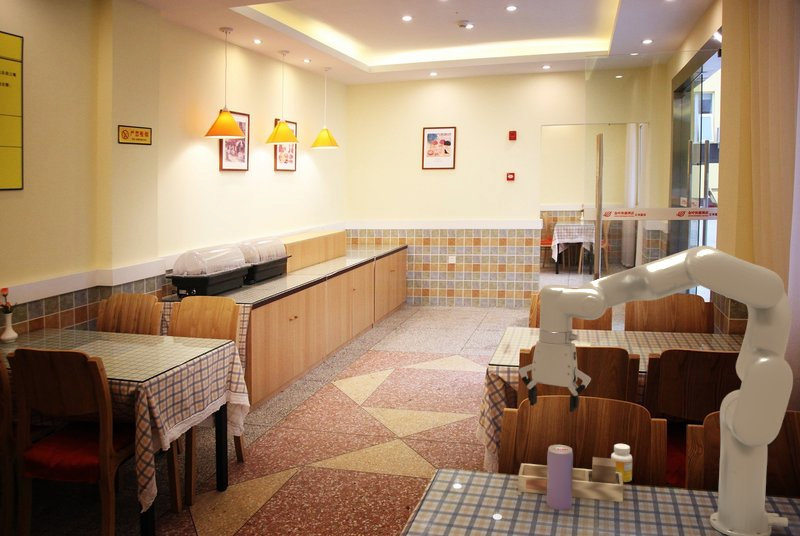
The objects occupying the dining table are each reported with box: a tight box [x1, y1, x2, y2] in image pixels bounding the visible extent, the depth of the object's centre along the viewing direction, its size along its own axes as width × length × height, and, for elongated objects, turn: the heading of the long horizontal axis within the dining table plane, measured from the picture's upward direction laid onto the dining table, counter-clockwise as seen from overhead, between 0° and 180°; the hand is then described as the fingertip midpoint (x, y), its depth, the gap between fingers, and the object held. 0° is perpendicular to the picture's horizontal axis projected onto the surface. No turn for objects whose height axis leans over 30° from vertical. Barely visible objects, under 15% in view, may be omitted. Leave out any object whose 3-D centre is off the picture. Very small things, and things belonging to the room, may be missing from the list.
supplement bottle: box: [610, 443, 633, 483], centre depth 187 cm, size 5×5×10 cm
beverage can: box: [546, 444, 574, 511], centre depth 171 cm, size 6×6×15 cm
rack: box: [517, 462, 624, 503], centre depth 180 cm, size 25×9×5 cm, turn 75°
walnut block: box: [591, 456, 616, 484], centre depth 178 cm, size 6×6×8 cm
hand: (552, 407), depth 170 cm, fingers open, 9 cm apart
